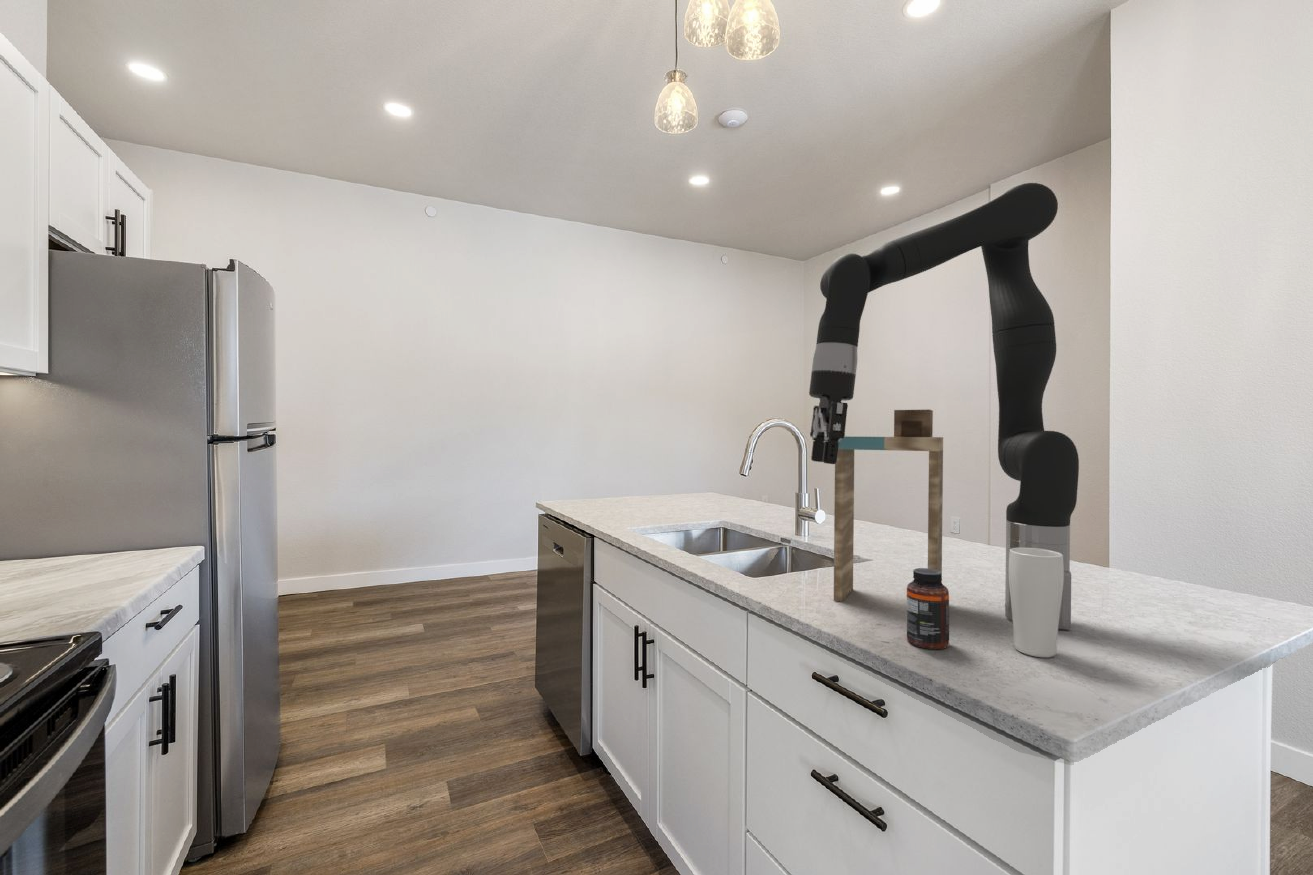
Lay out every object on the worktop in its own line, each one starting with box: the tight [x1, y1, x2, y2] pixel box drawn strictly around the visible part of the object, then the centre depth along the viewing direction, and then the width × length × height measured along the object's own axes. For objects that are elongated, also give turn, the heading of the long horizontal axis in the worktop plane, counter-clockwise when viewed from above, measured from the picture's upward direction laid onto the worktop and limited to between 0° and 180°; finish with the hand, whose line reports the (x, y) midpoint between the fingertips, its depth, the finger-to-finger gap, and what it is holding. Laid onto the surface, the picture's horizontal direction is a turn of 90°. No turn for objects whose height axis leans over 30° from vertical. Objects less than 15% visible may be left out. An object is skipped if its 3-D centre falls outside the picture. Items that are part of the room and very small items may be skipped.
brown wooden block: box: [893, 409, 934, 437], centre depth 109 cm, size 6×18×5 cm, turn 148°
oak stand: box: [833, 435, 944, 602], centre depth 108 cm, size 18×10×32 cm, turn 58°
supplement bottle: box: [906, 567, 950, 650], centre depth 86 cm, size 6×6×11 cm
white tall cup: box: [1009, 548, 1064, 659], centre depth 83 cm, size 7×7×15 cm
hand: (822, 462), depth 99 cm, fingers open, 8 cm apart
